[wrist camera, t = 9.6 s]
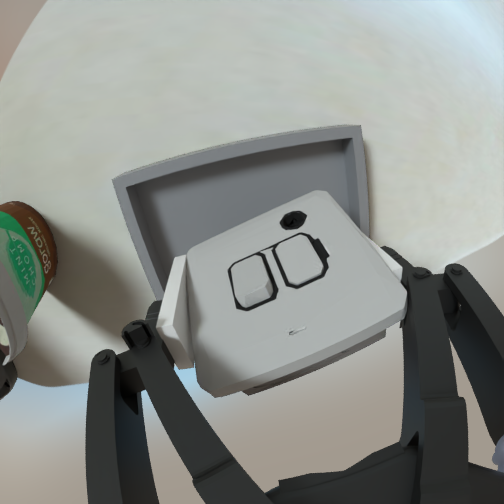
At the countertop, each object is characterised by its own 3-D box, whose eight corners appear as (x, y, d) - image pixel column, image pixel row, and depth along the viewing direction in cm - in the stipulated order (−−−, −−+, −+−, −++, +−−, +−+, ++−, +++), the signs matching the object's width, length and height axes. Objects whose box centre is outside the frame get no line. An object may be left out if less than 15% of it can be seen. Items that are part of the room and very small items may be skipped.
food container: (92, 280, 22) (45, 360, 13) (52, 300, 22) (7, 370, 13) (28, 160, 16) (-55, 192, 7) (-7, 194, 17) (-77, 236, 8)
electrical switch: (321, 184, 16) (415, 268, 8) (341, 249, 19) (413, 347, 11) (183, 248, 17) (171, 373, 9) (221, 303, 20) (234, 422, 12)
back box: (177, 319, 24) (174, 337, 22) (123, 173, 18) (111, 179, 16) (356, 276, 25) (368, 290, 22) (345, 124, 19) (360, 125, 16)
